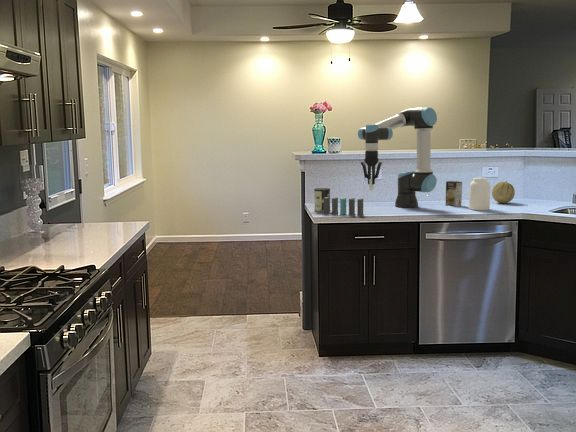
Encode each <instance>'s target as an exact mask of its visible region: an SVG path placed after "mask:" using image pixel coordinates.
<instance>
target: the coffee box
mask: <svg viewBox="0 0 576 432" xmlns="http://www.w3.org/2000/svg"><path fill="white" fill-rule="evenodd" d="M462 198H463V181H460V180H458V181H457V180H446V181H445V206H451V207H459V206H462Z"/></svg>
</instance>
